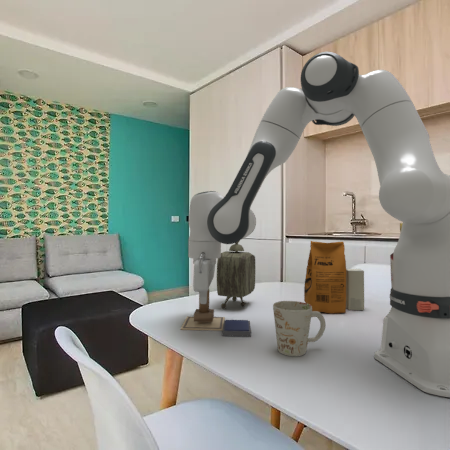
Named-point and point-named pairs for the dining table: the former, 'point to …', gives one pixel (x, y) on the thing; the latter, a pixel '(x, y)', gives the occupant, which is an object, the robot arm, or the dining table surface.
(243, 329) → the ink pad
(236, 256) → the tabletop clock
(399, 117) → the robot arm
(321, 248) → the coffee package
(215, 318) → the card
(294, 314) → the mug
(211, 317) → the stamp
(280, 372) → the dining table surface
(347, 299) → the box
